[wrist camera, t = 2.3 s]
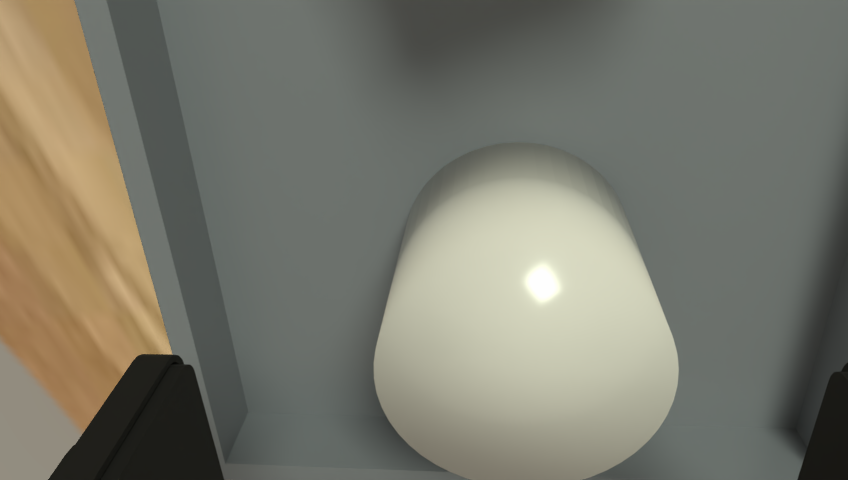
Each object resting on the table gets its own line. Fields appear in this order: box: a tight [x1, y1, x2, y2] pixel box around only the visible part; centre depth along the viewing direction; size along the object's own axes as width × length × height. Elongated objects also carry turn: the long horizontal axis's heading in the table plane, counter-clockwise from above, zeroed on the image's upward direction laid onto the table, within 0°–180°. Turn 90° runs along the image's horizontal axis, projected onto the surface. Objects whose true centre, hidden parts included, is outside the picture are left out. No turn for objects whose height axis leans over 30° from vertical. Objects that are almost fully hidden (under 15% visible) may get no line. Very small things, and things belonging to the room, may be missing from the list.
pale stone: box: [374, 142, 679, 480], centre depth 14 cm, size 5×5×5 cm
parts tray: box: [75, 0, 848, 480], centre depth 13 cm, size 16×22×2 cm
